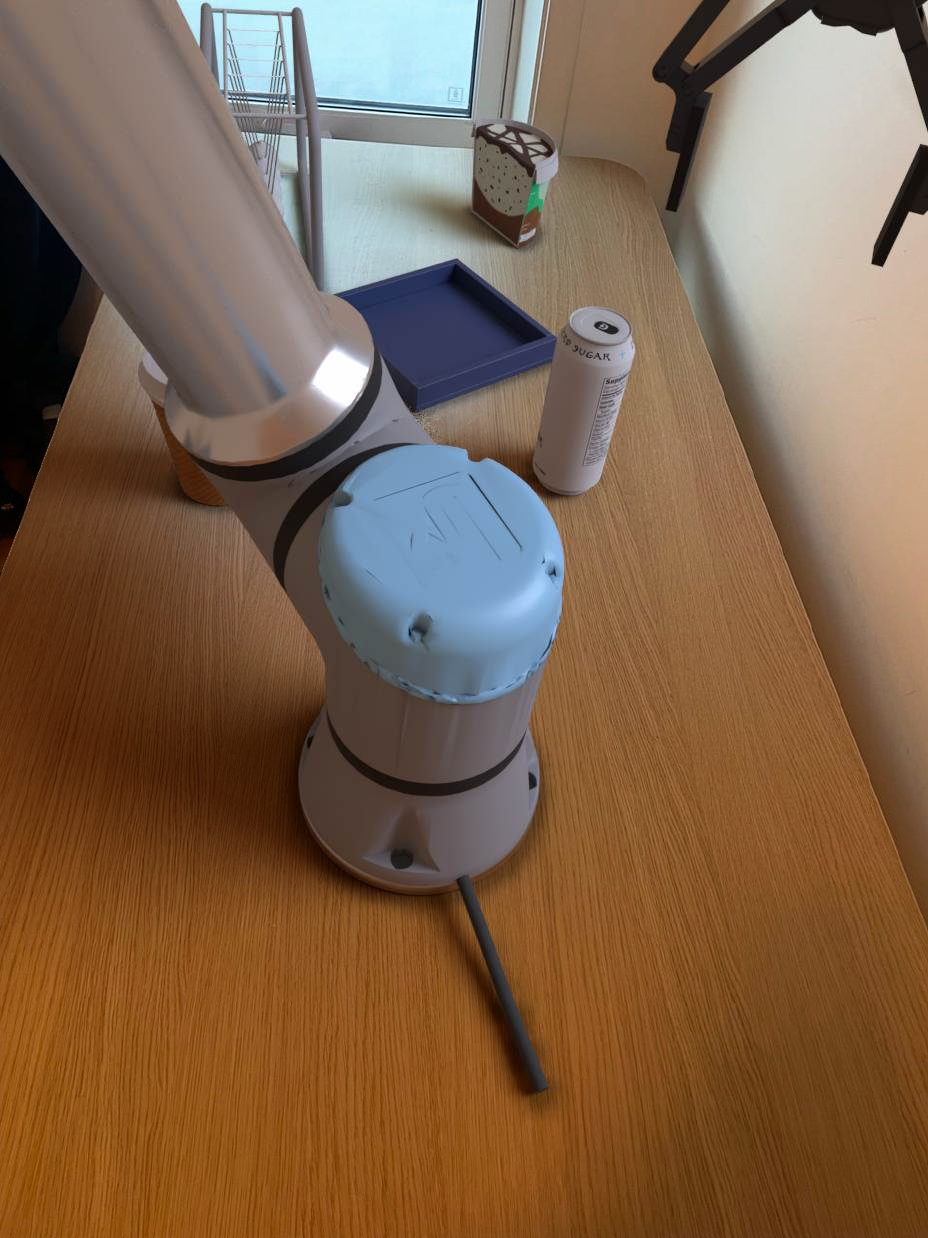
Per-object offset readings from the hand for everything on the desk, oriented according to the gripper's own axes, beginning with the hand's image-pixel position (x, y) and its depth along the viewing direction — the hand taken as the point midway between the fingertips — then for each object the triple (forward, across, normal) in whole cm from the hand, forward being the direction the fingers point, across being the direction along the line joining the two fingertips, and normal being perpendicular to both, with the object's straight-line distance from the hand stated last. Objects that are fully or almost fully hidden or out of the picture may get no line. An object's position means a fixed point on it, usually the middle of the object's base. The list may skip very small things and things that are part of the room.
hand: (774, 229), depth 62 cm
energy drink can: (+25, +10, +1) cm, 27 cm away
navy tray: (+25, +27, -13) cm, 39 cm away
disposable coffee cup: (+25, +36, +14) cm, 46 cm away
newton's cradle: (+25, +51, -24) cm, 62 cm away
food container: (+25, +28, -40) cm, 54 cm away
